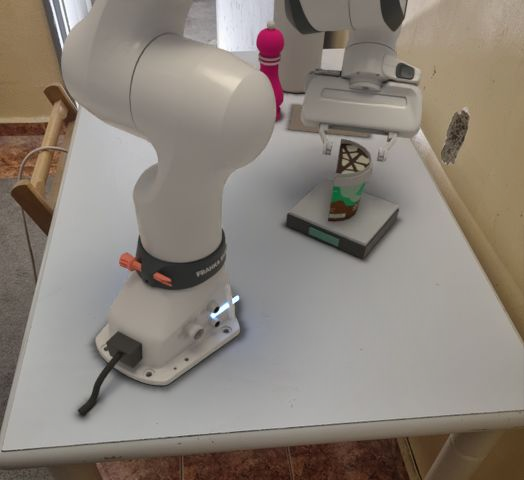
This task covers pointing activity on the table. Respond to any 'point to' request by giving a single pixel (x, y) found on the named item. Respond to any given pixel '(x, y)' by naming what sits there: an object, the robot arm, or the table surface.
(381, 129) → the robot arm
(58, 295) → the table surface
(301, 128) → the platform
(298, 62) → the cylinder vase
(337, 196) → the food container
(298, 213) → the kitchen scale
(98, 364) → the table surface
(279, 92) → the pepper mill
